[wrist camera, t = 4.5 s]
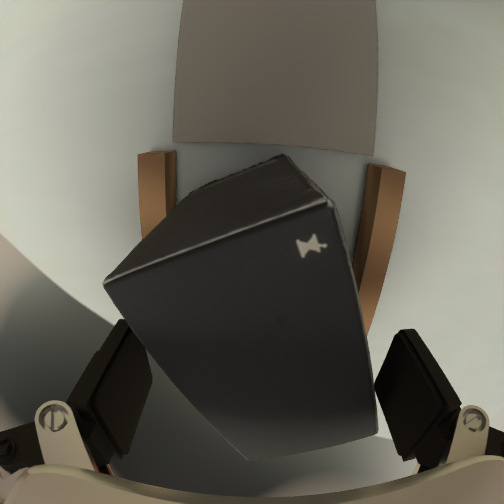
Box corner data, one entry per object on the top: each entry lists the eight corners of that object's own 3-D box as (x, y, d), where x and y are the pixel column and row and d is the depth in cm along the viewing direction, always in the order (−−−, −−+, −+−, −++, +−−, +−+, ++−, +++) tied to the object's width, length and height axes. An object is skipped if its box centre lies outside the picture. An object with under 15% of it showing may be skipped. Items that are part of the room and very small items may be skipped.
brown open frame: (151, 151, 15) (137, 154, 13) (390, 167, 15) (405, 172, 13) (164, 324, 20) (157, 341, 18) (354, 332, 20) (362, 350, 18)
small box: (181, 193, 16) (84, 281, 6) (287, 150, 15) (342, 180, 5) (249, 332, 20) (243, 467, 10) (337, 303, 19) (386, 433, 9)
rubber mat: (193, -41, 10) (191, -46, 9) (368, -26, 10) (371, -30, 9) (175, 142, 15) (172, 142, 14) (369, 155, 15) (372, 156, 14)
